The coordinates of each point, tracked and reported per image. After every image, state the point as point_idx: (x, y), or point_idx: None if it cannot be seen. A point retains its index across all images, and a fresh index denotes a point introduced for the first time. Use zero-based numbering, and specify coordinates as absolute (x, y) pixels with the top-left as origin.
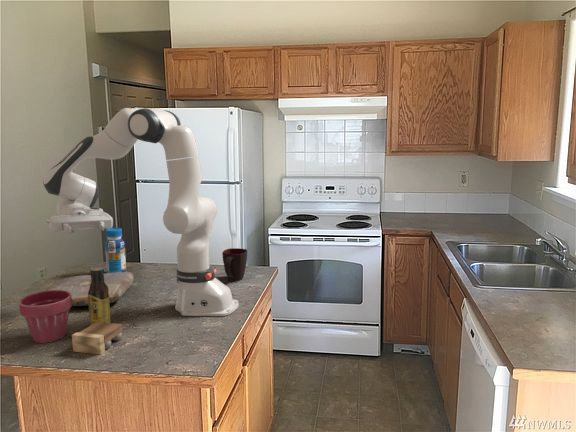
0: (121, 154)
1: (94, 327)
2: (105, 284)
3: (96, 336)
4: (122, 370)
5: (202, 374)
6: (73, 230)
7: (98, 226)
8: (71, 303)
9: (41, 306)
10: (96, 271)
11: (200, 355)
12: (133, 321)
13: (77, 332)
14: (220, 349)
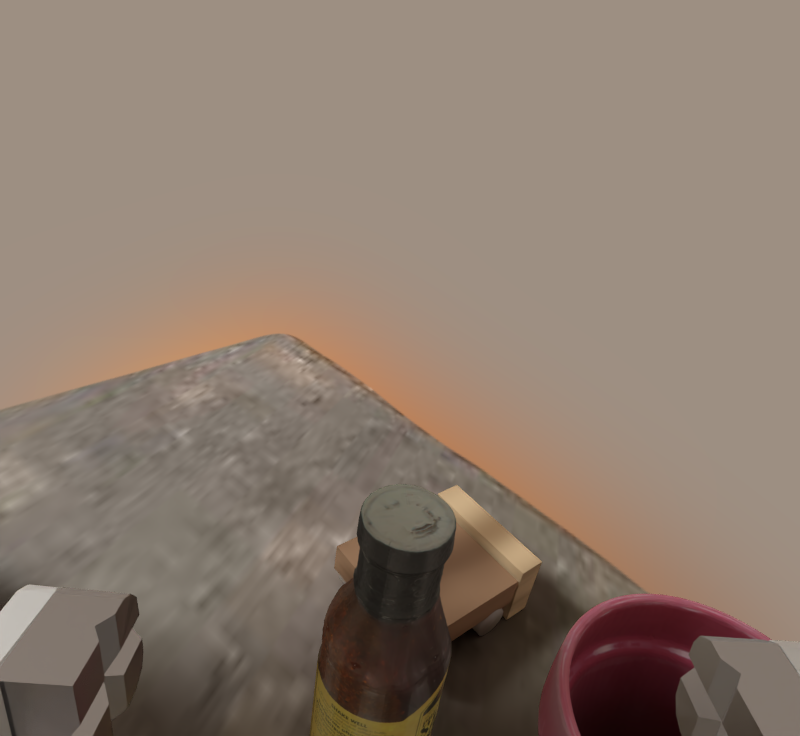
0: None
1: (443, 590)
2: (348, 584)
3: (462, 499)
4: (422, 433)
5: (291, 340)
6: (701, 670)
7: (95, 683)
8: (546, 679)
9: (708, 608)
10: (423, 493)
11: (233, 380)
12: (188, 729)
13: (519, 568)
14: (173, 372)
